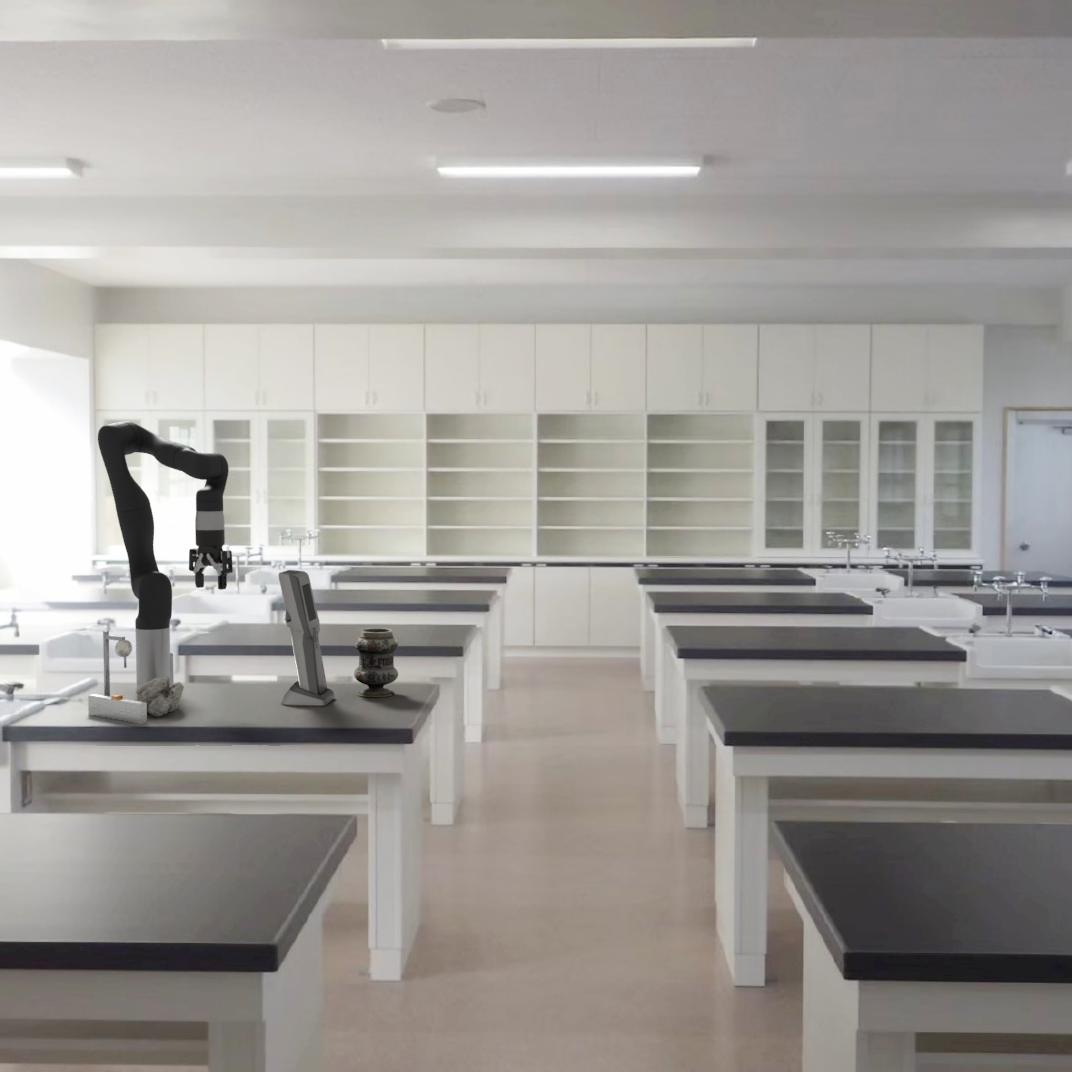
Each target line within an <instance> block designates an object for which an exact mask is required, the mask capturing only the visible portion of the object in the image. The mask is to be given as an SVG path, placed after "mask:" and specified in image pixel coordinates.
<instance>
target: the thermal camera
mask: <svg viewBox="0 0 1072 1072" xmlns="http://www.w3.org/2000/svg"><path fill="white" fill-rule="evenodd" d="M278 580H279V584H280V591H281V595H282V600H283V604H284V608H285V617H284V621H285V627H287V628H290V636H291V643H292V649H293V650H292V651H293V655H294V662H295V665H296V670H297V676H298V677H297V678H298V680H297V681H295V682H294V683H293V684H291V685H292V686H290V687H289V689H288V690H287V691H286V693H285V694H284V695H283V698H282V699H281V705H283V706H287V707H288V706H290V707H292V706H293V707H294V706H295V707H325V706H327V705H328V704H330V703H331V702H332V701H333V700H334V699H336V696H335V692H334V691H333V690H332V689H331V688H328V684H327V679H326V672H325V667H324V660H323V656H322V650H321V645H320V640H319V635H320V630H321V626H320V618H319V614H318V609H317V606H316V602H315V598H314V594H313V593H314V592H313V588H312V583H311V579H310V576H309V574H308V572H306V571H304V570H294V569H287V570H285V571H282V572H279V573H278Z"/></svg>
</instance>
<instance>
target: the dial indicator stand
mask: <svg viewBox="0 0 1072 1072" xmlns="http://www.w3.org/2000/svg"><path fill="white" fill-rule="evenodd" d="M109 632H110V631H109V630H102V638H103V639H102V640H103V641H102V643H103V644H102V645H103V649H102V650H103V651H102V652H103V686H104V687H103V689H104V690H103V691H104V693H103V694H104V695H103V696H109V697H111V682H110V681H111V678H110V675H111V673H110V670H111V669H110V641H111V640H112V641H117V643H115V644H116V645H115V648H114V651H115V653H116V656H118V657H122V658H123V668H125V669H127V667H128V666H127V657H128V656H130V655H131V653H132V651H133V644H132V643H131V641H130V640H127V639H126V636H124V635H123V636H122V635H114V634H109Z"/></svg>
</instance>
